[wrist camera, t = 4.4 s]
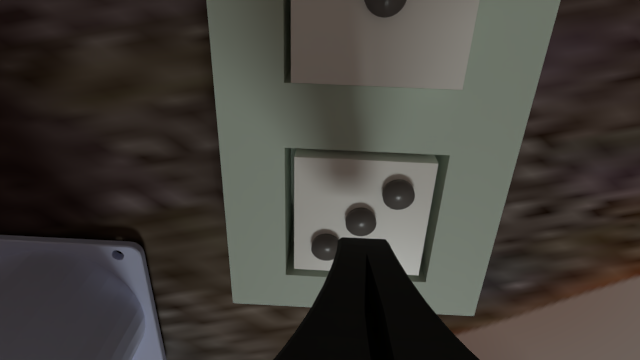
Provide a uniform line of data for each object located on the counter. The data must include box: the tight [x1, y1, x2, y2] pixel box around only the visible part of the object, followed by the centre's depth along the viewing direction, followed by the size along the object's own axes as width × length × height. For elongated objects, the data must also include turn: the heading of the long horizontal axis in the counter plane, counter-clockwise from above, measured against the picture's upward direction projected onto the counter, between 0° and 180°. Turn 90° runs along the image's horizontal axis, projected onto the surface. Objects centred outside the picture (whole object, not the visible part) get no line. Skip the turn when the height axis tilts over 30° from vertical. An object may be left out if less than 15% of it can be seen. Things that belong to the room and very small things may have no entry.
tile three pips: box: [294, 148, 438, 275], centre depth 15 cm, size 4×4×2 cm
